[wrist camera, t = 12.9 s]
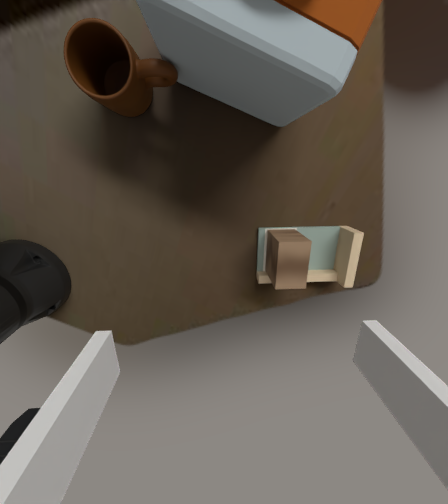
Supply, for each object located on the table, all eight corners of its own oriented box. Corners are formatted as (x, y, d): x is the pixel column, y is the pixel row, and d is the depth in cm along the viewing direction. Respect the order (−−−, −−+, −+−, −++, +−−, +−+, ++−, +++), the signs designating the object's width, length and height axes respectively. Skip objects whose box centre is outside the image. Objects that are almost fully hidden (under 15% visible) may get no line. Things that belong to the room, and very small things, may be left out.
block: (267, 229, 41) (279, 242, 34) (294, 229, 41) (311, 241, 34) (265, 270, 44) (275, 289, 37) (290, 269, 44) (305, 288, 37)
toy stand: (256, 277, 45) (261, 290, 40) (258, 227, 42) (264, 235, 37) (338, 275, 46) (352, 287, 41) (347, 225, 42) (363, 232, 38)
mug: (183, 61, 33) (173, 21, 24) (184, 121, 35) (175, 105, 27) (97, 55, 32) (54, 12, 23) (105, 117, 35) (68, 99, 26)
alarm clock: (307, 68, 34) (433, -66, 15) (281, 130, 36) (360, 86, 17) (187, 7, 31) (146, -264, 12) (169, 79, 33) (111, -42, 14)
